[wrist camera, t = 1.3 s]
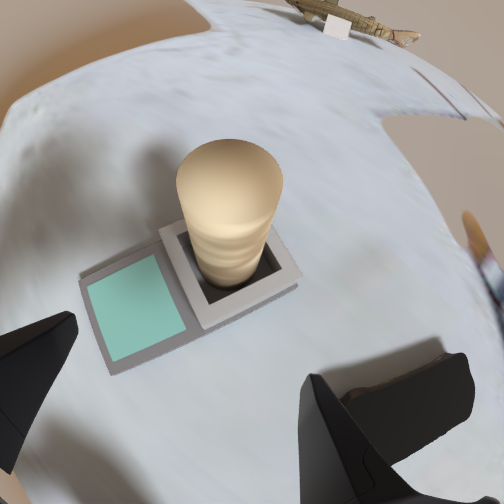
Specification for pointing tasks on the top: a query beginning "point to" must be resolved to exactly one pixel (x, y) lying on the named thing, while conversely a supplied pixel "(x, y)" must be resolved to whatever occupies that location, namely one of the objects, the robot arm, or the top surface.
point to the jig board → (173, 297)
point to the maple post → (228, 208)
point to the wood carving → (348, 21)
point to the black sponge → (414, 406)
